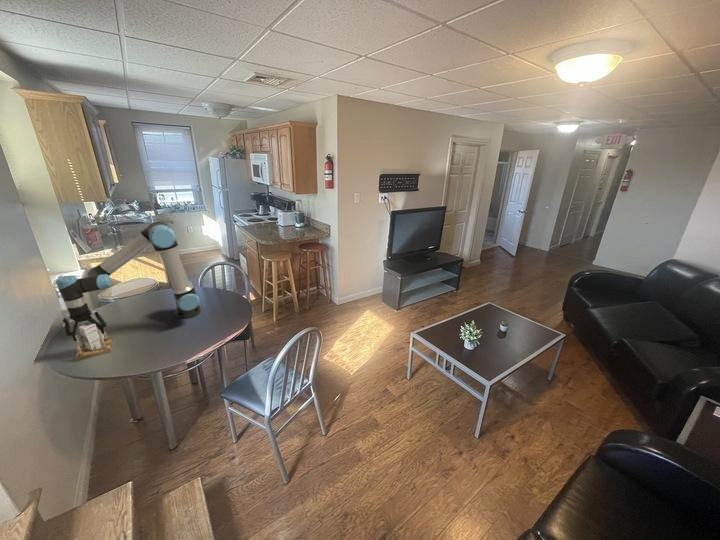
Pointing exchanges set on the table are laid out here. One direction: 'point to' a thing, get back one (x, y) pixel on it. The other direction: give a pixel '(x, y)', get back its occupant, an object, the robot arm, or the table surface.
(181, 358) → the table surface
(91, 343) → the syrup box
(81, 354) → the peg rack
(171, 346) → the table surface
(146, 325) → the table surface
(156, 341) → the table surface
